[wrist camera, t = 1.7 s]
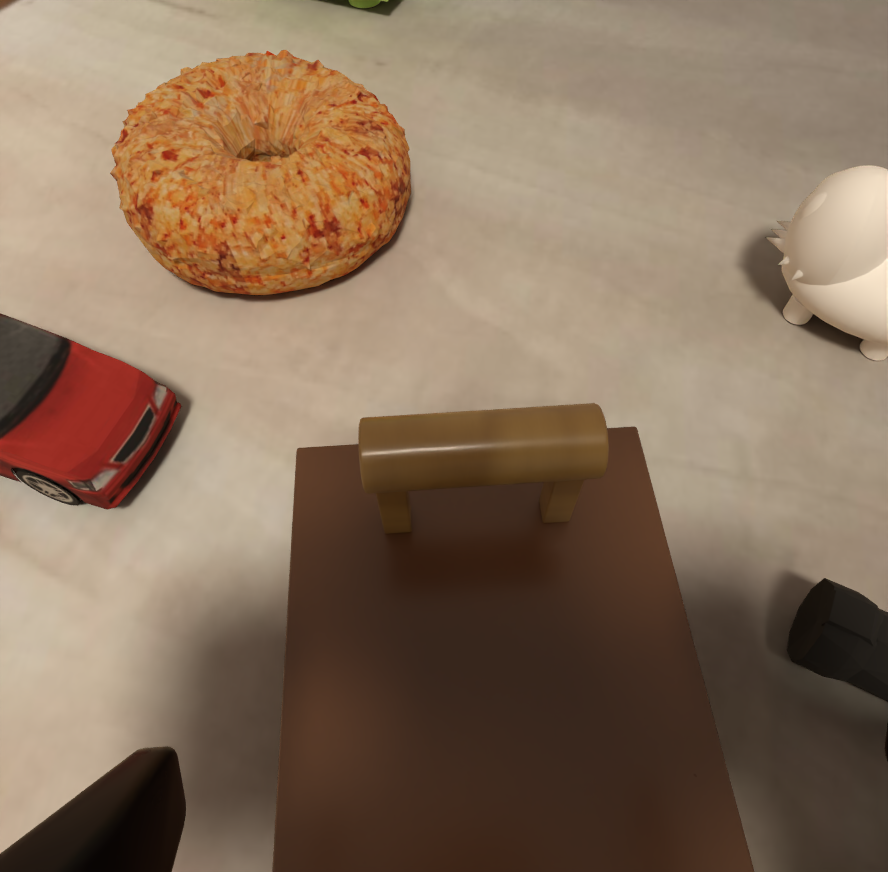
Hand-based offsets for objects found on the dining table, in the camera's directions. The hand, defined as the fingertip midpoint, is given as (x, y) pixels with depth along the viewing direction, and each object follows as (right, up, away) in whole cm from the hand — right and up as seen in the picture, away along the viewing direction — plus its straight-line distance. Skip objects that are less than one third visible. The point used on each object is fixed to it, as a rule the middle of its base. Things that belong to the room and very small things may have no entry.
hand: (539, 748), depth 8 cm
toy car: (-18, +5, +17) cm, 26 cm away
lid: (0, -1, +8) cm, 8 cm away
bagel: (-9, +15, +23) cm, 29 cm away
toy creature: (+15, +9, +19) cm, 26 cm away
